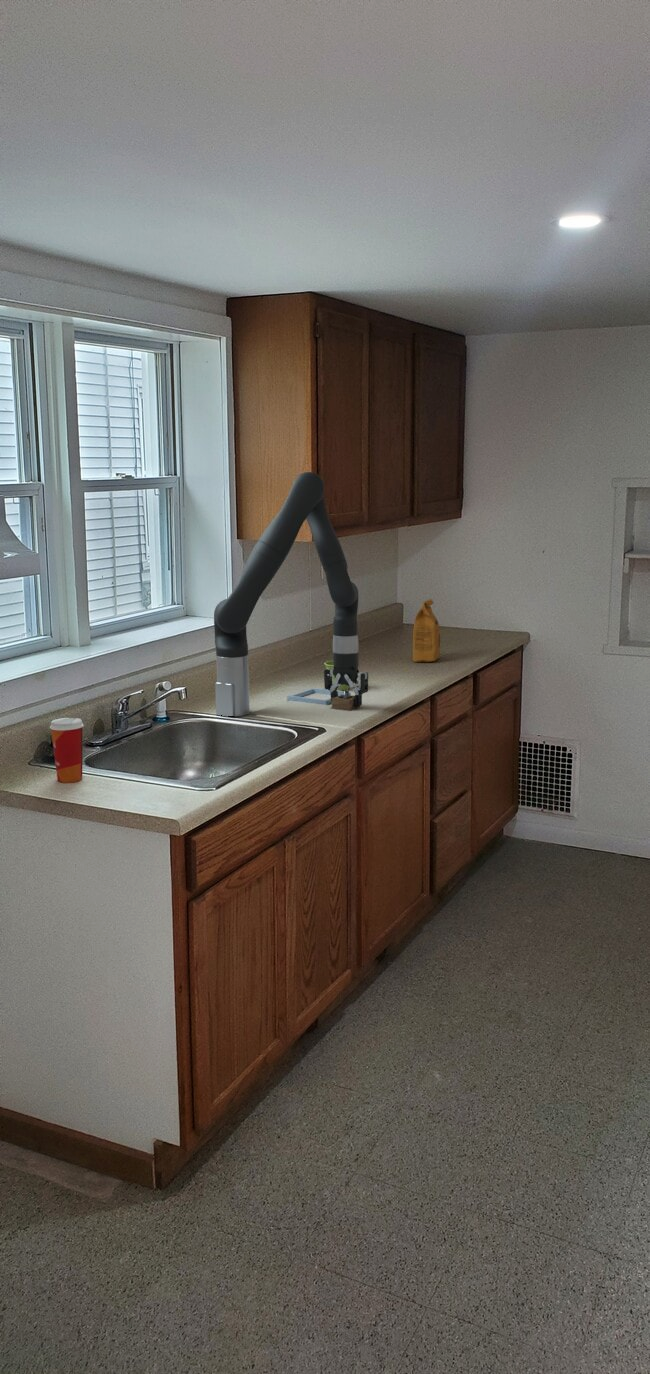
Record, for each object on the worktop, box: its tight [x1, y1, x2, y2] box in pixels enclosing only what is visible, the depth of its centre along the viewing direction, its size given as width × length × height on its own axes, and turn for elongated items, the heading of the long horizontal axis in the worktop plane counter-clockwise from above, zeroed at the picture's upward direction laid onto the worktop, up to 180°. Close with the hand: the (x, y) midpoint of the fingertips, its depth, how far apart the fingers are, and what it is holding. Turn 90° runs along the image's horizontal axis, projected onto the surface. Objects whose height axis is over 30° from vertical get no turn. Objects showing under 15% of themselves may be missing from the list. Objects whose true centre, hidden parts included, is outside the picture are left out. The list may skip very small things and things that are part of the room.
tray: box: [286, 687, 352, 706], centre depth 336 cm, size 14×14×2 cm
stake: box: [329, 689, 363, 712], centre depth 323 cm, size 7×7×6 cm
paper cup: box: [49, 717, 85, 784], centre depth 254 cm, size 8×8×14 cm
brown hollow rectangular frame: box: [331, 694, 356, 711], centre depth 324 cm, size 8×6×3 cm
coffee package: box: [412, 598, 441, 663], centre depth 401 cm, size 10×12×22 cm
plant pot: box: [323, 660, 350, 691], centre depth 353 cm, size 9×9×9 cm
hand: (346, 705), depth 323 cm, fingers open, 7 cm apart
